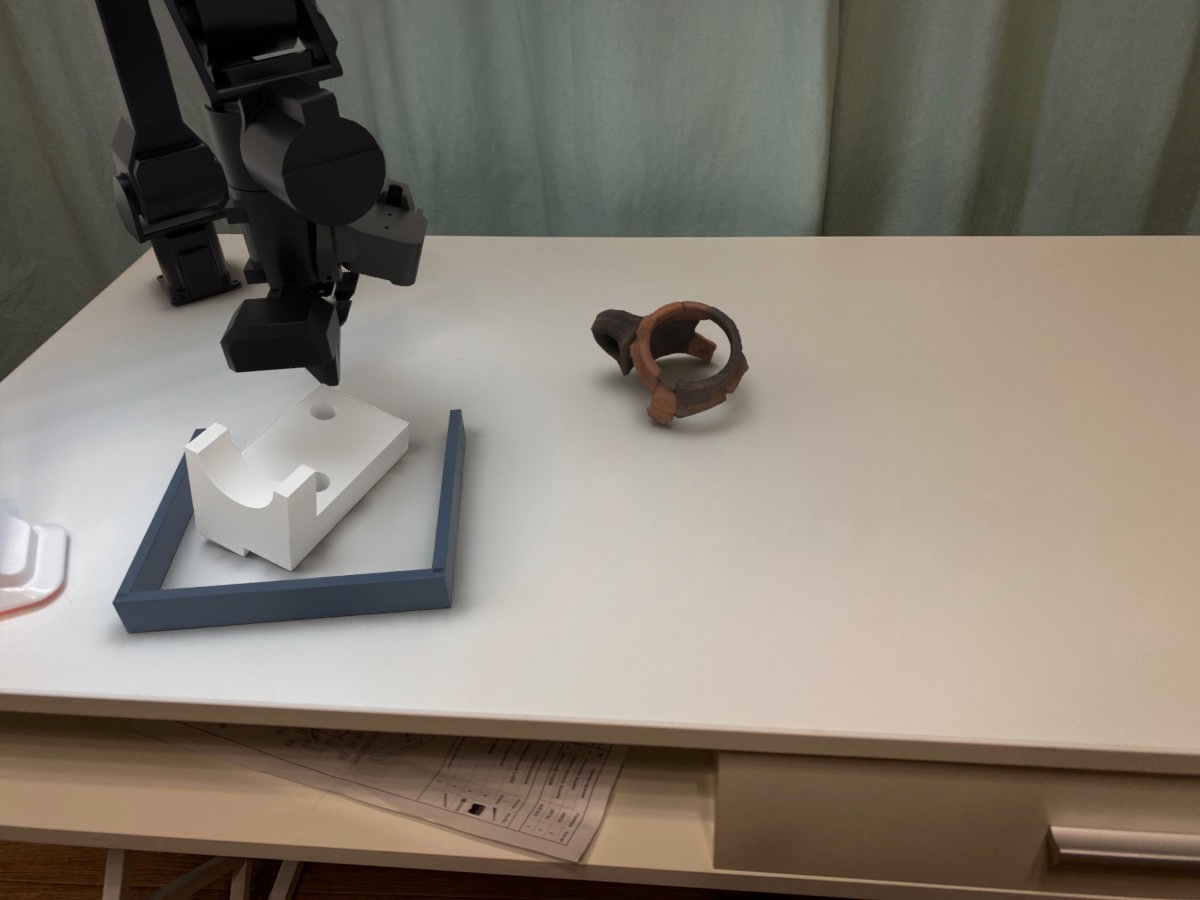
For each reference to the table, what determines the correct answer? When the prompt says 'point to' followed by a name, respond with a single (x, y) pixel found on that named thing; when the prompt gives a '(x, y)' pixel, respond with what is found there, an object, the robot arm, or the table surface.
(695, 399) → the pottery mug
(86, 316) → the table surface
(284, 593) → the open blue frame
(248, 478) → the bracket
